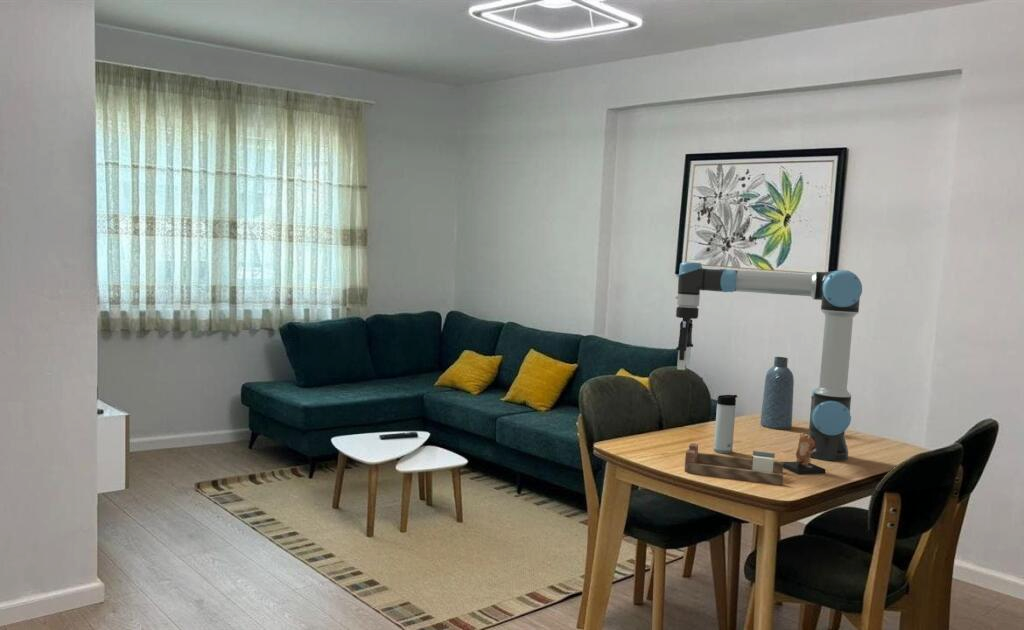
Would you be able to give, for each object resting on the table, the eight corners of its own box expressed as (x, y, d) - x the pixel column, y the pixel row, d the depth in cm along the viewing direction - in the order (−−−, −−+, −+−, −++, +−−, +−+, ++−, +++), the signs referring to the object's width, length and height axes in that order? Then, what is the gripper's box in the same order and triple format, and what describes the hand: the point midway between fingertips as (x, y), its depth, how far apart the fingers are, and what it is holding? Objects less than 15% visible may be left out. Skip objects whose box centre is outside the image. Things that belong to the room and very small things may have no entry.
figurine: (825, 473, 269) (828, 436, 268) (797, 474, 266) (801, 437, 265) (805, 465, 279) (808, 429, 278) (779, 466, 276) (782, 430, 275)
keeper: (773, 474, 264) (774, 451, 263) (772, 478, 258) (774, 455, 257) (751, 471, 266) (753, 449, 265) (751, 476, 260) (752, 453, 259)
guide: (782, 471, 268) (783, 453, 268) (782, 485, 252) (783, 465, 252) (689, 460, 277) (691, 442, 276) (683, 472, 261) (685, 453, 260)
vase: (762, 428, 338) (767, 358, 336) (758, 422, 350) (763, 354, 348) (793, 430, 336) (799, 360, 334) (788, 425, 348) (794, 357, 346)
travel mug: (733, 454, 289) (738, 396, 287) (713, 452, 290) (718, 395, 288) (732, 450, 295) (736, 393, 293) (713, 448, 296) (717, 392, 294)
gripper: (681, 304, 306) (677, 362, 308) (672, 307, 282) (667, 370, 284) (702, 305, 304) (697, 364, 305) (694, 309, 280) (690, 372, 282)
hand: (683, 367), depth 295 cm, fingers open, 13 cm apart
